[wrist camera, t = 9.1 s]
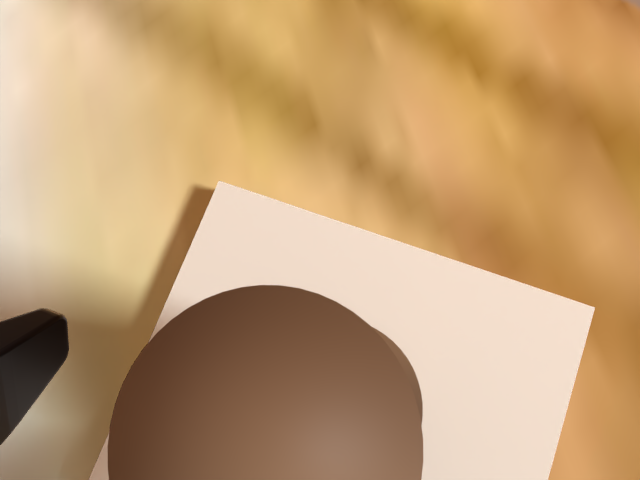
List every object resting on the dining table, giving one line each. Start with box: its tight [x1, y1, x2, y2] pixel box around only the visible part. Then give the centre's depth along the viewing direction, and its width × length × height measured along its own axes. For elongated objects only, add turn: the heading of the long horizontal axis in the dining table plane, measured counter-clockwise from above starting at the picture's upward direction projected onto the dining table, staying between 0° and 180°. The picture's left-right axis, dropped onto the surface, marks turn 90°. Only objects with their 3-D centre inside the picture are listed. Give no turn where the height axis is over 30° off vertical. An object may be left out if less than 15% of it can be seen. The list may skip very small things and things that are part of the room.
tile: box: [89, 181, 595, 480], centre depth 18 cm, size 11×13×1 cm
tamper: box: [108, 285, 423, 480], centre depth 12 cm, size 5×5×12 cm
